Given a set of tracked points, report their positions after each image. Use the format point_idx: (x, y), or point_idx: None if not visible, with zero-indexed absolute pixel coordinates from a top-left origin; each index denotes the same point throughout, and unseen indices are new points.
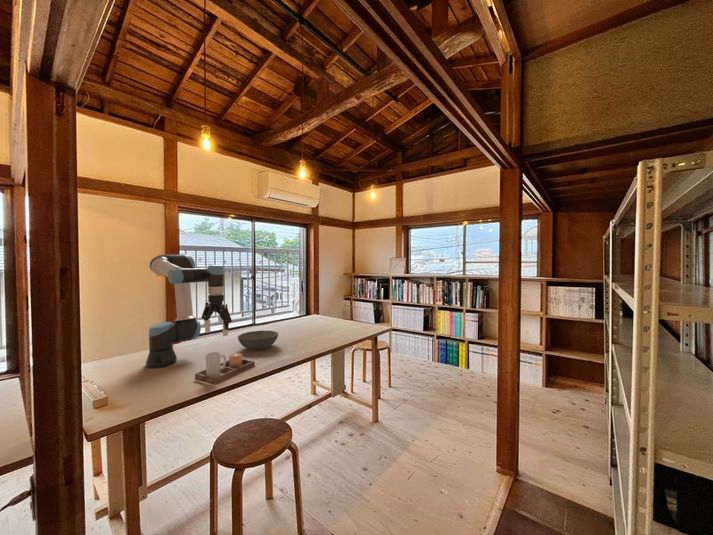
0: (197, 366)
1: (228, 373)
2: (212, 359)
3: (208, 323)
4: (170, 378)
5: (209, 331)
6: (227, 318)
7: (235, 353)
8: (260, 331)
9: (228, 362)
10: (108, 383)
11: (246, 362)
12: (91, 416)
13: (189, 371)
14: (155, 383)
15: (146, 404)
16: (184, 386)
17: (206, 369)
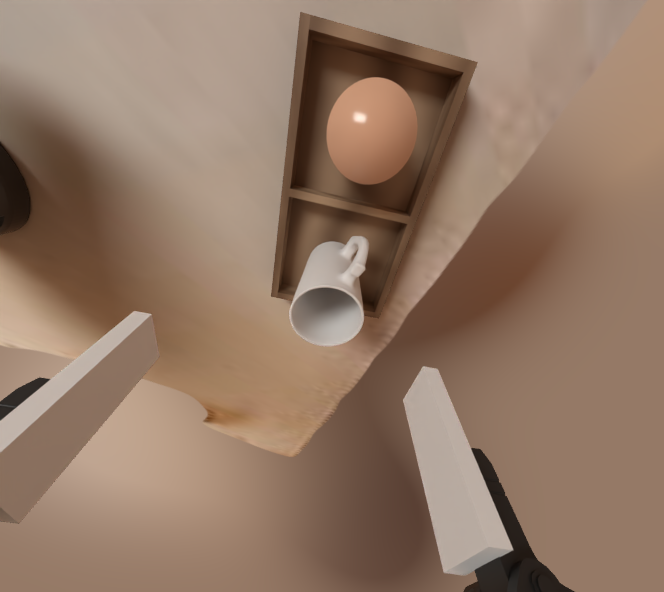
0: (154, 161)
1: (399, 263)
2: (346, 331)
3: (59, 433)
4: (187, 293)
5: (149, 326)
6: None
7: (347, 93)
8: None
9: (301, 111)
10: (69, 348)
11: (407, 62)
12: (234, 436)
13: (183, 225)
14: (186, 328)
15: (285, 402)
16: (288, 329)
17: (314, 299)
